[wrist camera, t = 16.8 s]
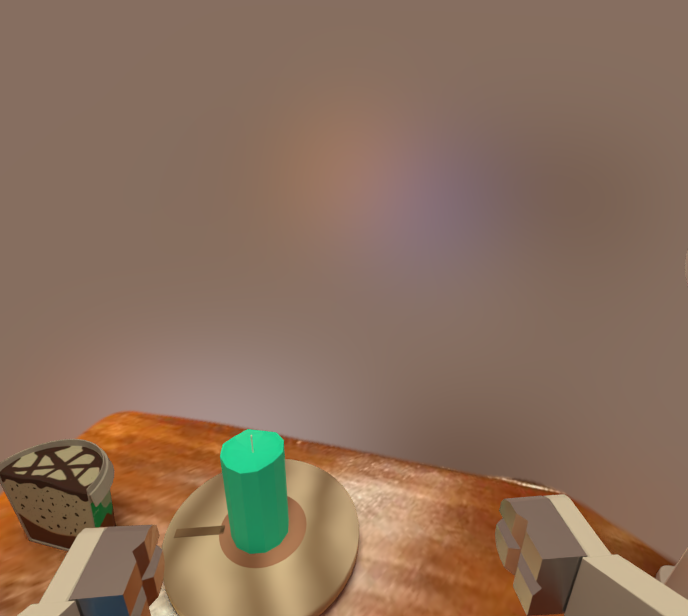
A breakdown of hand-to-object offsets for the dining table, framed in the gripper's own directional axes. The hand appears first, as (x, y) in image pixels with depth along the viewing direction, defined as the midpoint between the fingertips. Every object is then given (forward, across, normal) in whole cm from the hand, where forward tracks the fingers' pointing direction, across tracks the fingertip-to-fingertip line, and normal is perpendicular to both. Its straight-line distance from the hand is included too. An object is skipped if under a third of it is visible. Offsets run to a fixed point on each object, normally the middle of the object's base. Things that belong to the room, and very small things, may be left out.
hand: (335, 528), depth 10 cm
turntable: (+25, +6, +31) cm, 40 cm away
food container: (+29, +26, +32) cm, 51 cm away
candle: (+25, +6, +30) cm, 39 cm away
